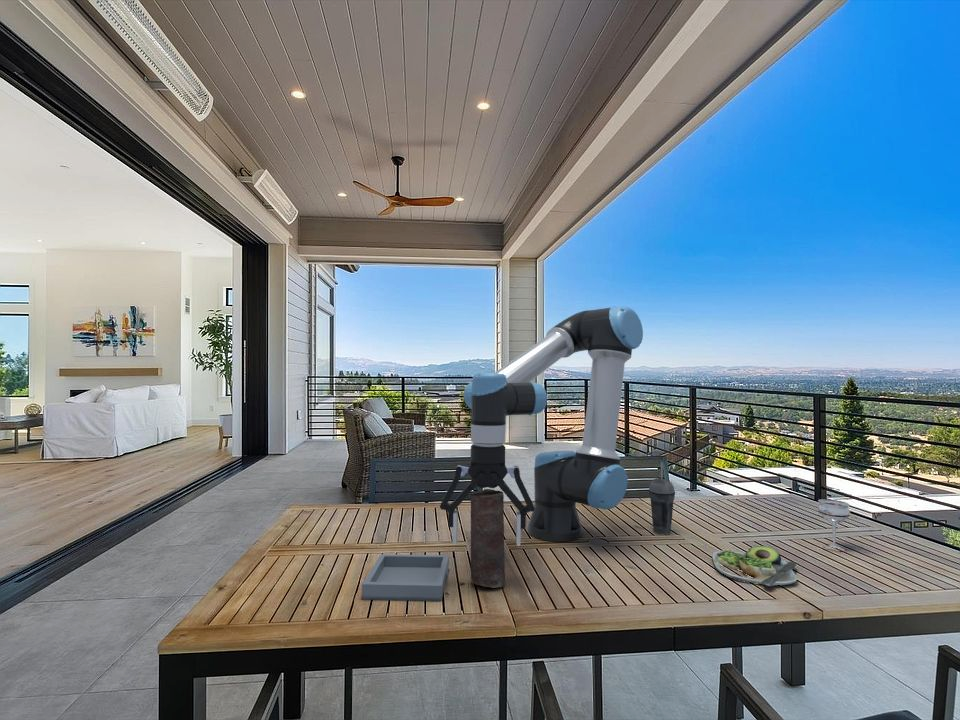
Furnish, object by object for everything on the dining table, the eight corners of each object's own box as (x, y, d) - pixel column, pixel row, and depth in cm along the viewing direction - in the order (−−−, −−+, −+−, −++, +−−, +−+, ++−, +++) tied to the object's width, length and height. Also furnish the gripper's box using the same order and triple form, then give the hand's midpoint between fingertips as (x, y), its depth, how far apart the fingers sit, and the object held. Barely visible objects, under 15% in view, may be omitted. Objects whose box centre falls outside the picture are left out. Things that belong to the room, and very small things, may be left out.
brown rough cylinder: (479, 594, 97) (480, 496, 98) (463, 581, 104) (464, 488, 104) (511, 587, 101) (511, 492, 101) (494, 574, 107) (494, 485, 108)
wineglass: (852, 548, 125) (851, 502, 125) (849, 555, 120) (848, 507, 120) (820, 542, 130) (819, 497, 130) (816, 548, 125) (815, 502, 125)
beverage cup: (648, 534, 135) (647, 463, 136) (649, 526, 142) (648, 459, 142) (675, 537, 132) (675, 465, 133) (675, 530, 139) (675, 461, 140)
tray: (448, 568, 110) (449, 555, 111) (441, 601, 94) (441, 585, 95) (380, 567, 111) (380, 554, 111) (361, 599, 95) (362, 584, 95)
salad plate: (813, 600, 96) (813, 577, 96) (715, 585, 103) (715, 563, 104) (793, 566, 114) (792, 546, 114) (710, 554, 121) (710, 536, 121)
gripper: (543, 442, 107) (542, 538, 106) (433, 440, 107) (431, 535, 106) (547, 447, 99) (546, 550, 98) (428, 445, 100) (426, 547, 99)
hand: (486, 543), depth 102 cm, fingers open, 13 cm apart
